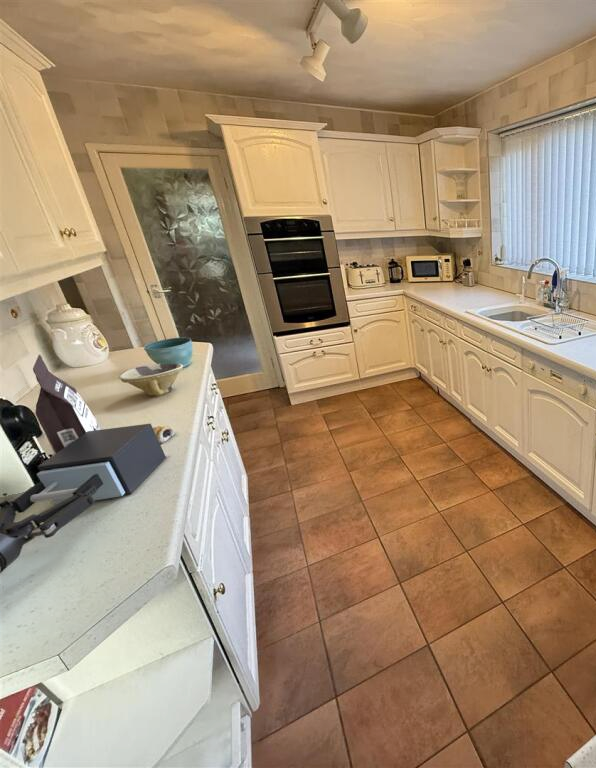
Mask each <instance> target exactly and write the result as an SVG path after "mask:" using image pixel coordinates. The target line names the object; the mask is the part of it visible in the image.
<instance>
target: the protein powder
mask: <svg viewBox="0 0 596 768" xmlns="http://www.w3.org/2000/svg"><path fill="white" fill-rule="evenodd" d="M32 372H33V374H34V375H35V379H36V381H37V383H38V385H39V387H40V389H39V394H38V398H37V402H36V404H35V416H36V419H37V420H38V422H39V424H40V426H41V428H42V429H43V431H44V435H45V436H46V439H47V441H48V444H49V445H50V448H51V450H52V451H53V455H55V454H56V453H57V452H59V451H60V450H62V449H63V448H65V447H66V446H67V445H69V444H70V443H72V442H73V441H75V440H76V439H77V438H79V437H80V436H82V435H83V434H85V433H86V432H87V431H95V430H102V428H101V426H100V425H99V422H98V421H97V419H96V418H95V416H94V414H93V413H92V411H91V409H90V408H89V406H88V405H87V404H86V402H85V401H84V399H83V398H82V396H81V395H80V394H79V393H78V390H77V388H75V387H74V386H72V385H70V384H69V383H68V382H66V381H65V380H63V379H61V378H60V377H57V375H55V374H53V373H52V372H51V371H49V368H48V367H47V364H46V363H45V361H44V360H43V357H42V355H41V354H38V356H37V358H36V360H35V363H34V365H33V367H32Z"/></svg>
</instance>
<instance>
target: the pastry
mask: <svg viewBox="0 0 596 768" xmlns="http://www.w3.org/2000/svg"><path fill="white" fill-rule="evenodd" d="M152 428H153V430H154V432H155V434H156V436H157V439H158V441H159V443H160V444H164V443H165V442H166V441H168V440H169V439H170V438H172V436H174V435H175V434H176V430H175V428H174V427H172V426H169V425H166V426H159V425H158V426H155V427H152Z"/></svg>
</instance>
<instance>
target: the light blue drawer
mask: <svg viewBox="0 0 596 768" xmlns="http://www.w3.org/2000/svg"><path fill="white" fill-rule="evenodd" d="M51 469H52V470H46V471H40V470H39V471H38V472H37V473H36V476H37V478H38V479H39V482H42V483H43V484H44V486H45V487H46V488H45V489H44V490H43V491H41V492H40V493H39V494H35V495H32V496H31V497H30V501H31V502H35V503H40V502H44V501H53V503H54V506H55V505H57V504H59V503H60V502H62V501H64V500H66V499H68V498H70V497H72V496H73V492H74V491H75V490H77V489H78V488H79V487H80V486H81V485H82V484H84V483H85V482H86V481H87V480H88V479H89V478H91V477H92V476H93V475H94V474H98V475H99V476H100V478H101V480H102V482H103V485H102V486H101V487H100V488H98V489H97V491H96V492H95V493H94V494H93V495H92V497H93V499H94V501H99V500H100V501H101V500H106V499H111V498H117V497H123V496H125V495H124V494H125V491H124V488H123V486H122V484H121V482H120V480H119V478H118V476H117V475H116V473H115V471H114V469H113V467H112V465H111V463H110V461H109V460H107V461H100V462H92V463H85V464H78V465H71V466H64V467H57V468H51ZM47 492H48V493H47Z"/></svg>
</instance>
